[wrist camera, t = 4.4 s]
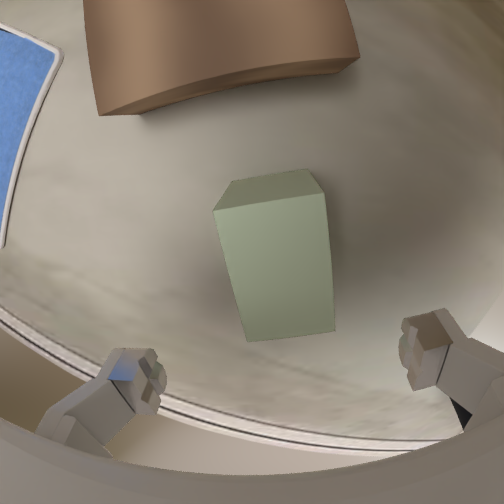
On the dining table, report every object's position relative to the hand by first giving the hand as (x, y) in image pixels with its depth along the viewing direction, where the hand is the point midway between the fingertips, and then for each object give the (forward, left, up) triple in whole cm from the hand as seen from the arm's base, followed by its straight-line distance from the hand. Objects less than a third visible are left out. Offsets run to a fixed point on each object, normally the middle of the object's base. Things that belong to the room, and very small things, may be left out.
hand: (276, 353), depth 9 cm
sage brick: (0, 0, -11) cm, 11 cm away
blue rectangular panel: (+23, -14, -11) cm, 29 cm away
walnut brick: (+1, -15, -11) cm, 19 cm away
